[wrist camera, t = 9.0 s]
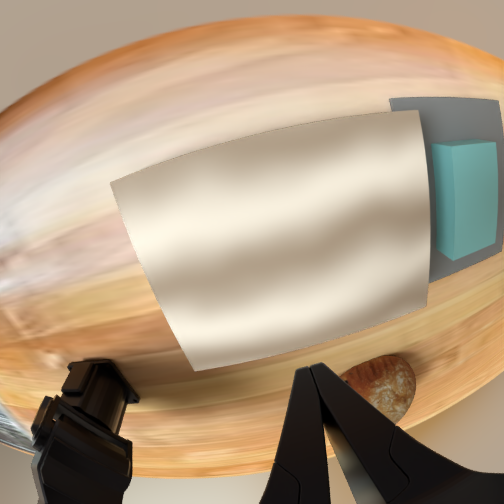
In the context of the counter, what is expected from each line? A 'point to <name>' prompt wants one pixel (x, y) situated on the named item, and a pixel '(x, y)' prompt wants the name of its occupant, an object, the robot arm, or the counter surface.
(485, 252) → the mat
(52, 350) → the counter surface
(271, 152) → the board
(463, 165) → the teal rectangular block
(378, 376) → the brown rounded dome
